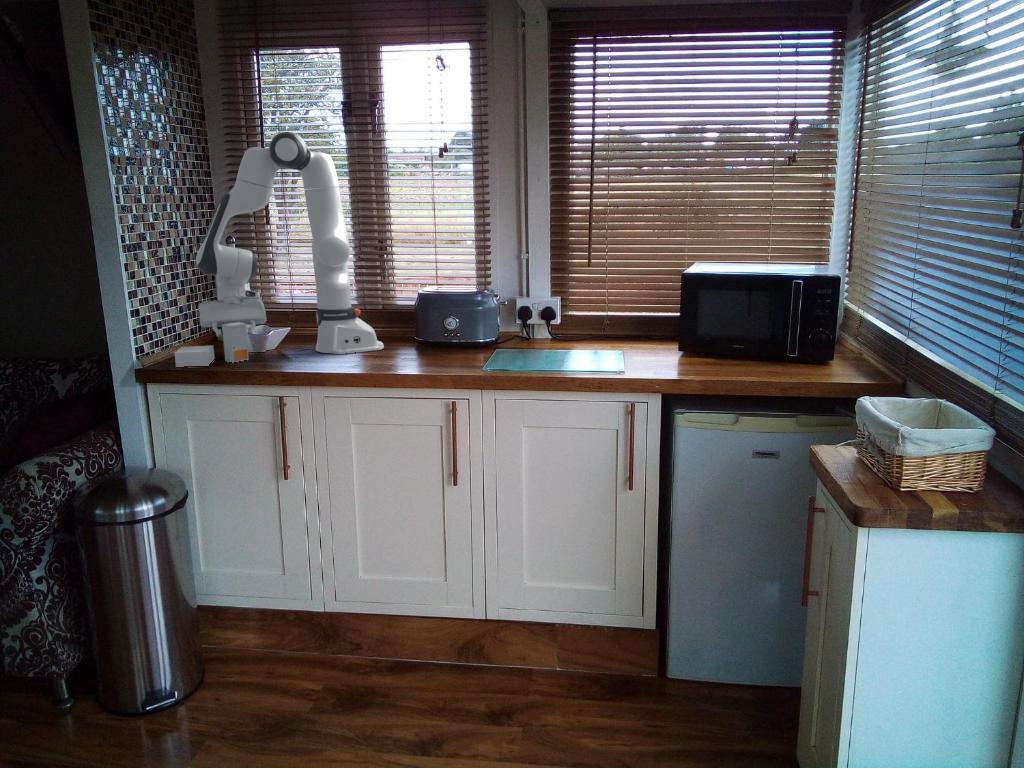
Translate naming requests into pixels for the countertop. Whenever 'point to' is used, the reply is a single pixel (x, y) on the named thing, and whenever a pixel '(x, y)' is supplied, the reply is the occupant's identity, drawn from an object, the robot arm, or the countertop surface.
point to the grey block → (194, 356)
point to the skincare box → (235, 342)
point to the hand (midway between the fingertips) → (234, 334)
